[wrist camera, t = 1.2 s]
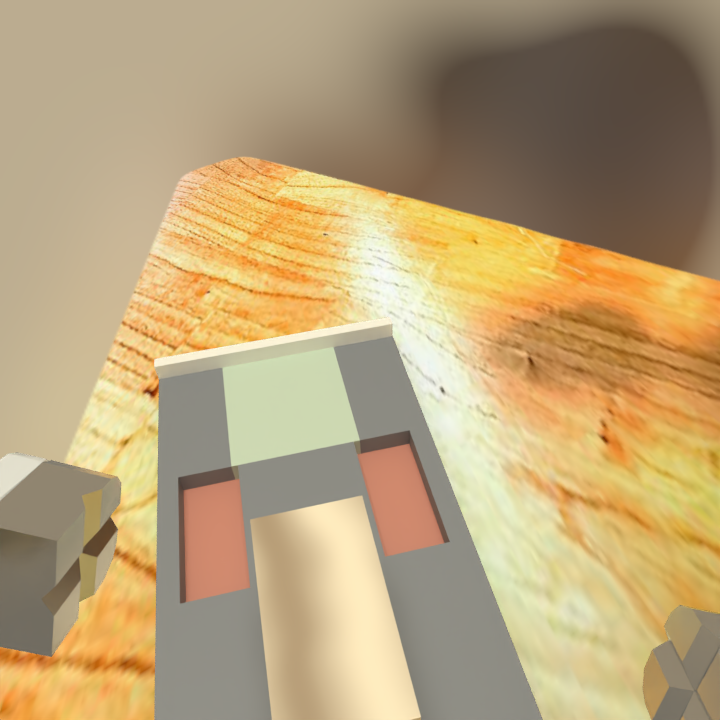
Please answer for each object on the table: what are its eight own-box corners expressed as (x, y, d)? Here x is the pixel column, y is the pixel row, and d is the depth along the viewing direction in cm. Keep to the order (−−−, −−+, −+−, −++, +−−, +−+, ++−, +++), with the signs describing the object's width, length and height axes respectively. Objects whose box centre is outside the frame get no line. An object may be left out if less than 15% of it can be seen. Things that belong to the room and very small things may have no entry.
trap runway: (389, 345, 59) (389, 316, 57) (556, 781, 34) (568, 764, 32) (165, 386, 57) (154, 359, 54) (163, 894, 31) (143, 884, 29)
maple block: (368, 582, 40) (362, 495, 33) (416, 778, 33) (420, 717, 26) (276, 604, 40) (250, 519, 33) (303, 809, 32) (275, 755, 25)
